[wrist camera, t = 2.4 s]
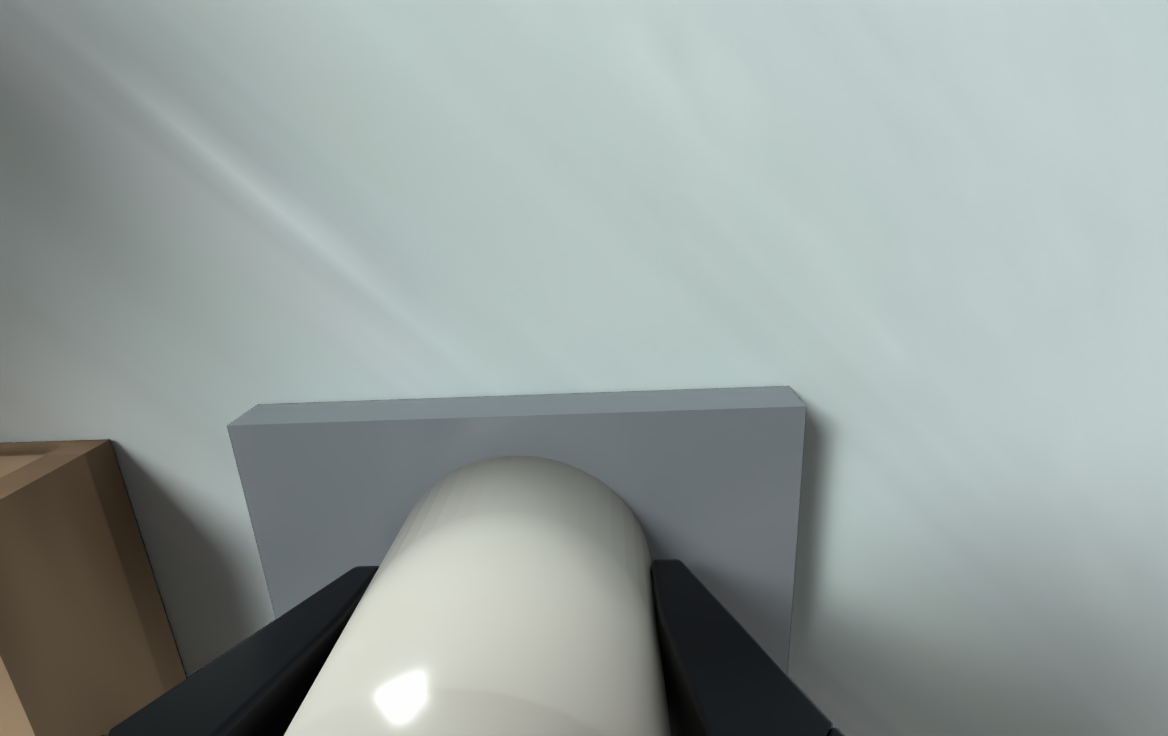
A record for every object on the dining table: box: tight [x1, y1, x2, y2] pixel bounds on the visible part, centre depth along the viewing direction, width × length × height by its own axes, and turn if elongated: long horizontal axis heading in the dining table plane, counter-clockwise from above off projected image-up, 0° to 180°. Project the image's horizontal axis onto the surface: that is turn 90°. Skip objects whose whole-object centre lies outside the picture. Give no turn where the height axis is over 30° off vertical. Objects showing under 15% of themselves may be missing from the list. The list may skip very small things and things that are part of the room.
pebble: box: [284, 456, 671, 736], centre depth 7 cm, size 4×4×4 cm
